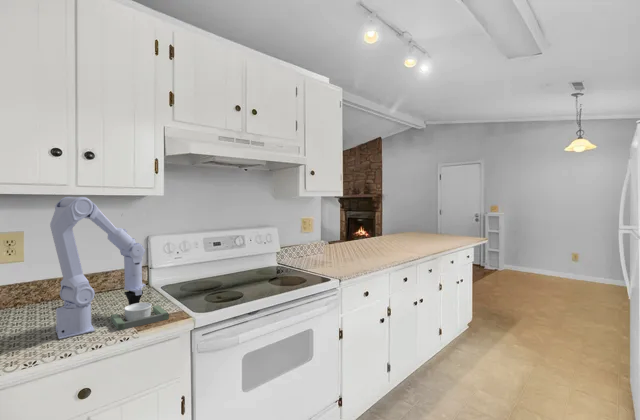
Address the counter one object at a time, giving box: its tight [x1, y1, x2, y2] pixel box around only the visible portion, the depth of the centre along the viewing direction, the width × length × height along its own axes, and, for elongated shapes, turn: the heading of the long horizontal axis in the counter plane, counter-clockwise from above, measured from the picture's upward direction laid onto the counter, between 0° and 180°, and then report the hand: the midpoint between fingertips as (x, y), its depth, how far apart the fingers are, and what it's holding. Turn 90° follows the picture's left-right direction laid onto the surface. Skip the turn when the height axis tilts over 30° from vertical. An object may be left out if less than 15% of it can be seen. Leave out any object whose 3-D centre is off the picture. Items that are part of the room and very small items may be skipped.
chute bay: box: [110, 304, 170, 331], centre depth 123 cm, size 16×12×2 cm
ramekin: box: [123, 301, 153, 321], centre depth 125 cm, size 9×9×4 cm
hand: (134, 310), depth 129 cm, fingers closed
